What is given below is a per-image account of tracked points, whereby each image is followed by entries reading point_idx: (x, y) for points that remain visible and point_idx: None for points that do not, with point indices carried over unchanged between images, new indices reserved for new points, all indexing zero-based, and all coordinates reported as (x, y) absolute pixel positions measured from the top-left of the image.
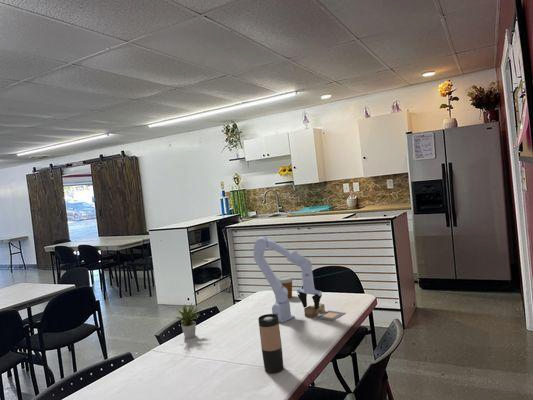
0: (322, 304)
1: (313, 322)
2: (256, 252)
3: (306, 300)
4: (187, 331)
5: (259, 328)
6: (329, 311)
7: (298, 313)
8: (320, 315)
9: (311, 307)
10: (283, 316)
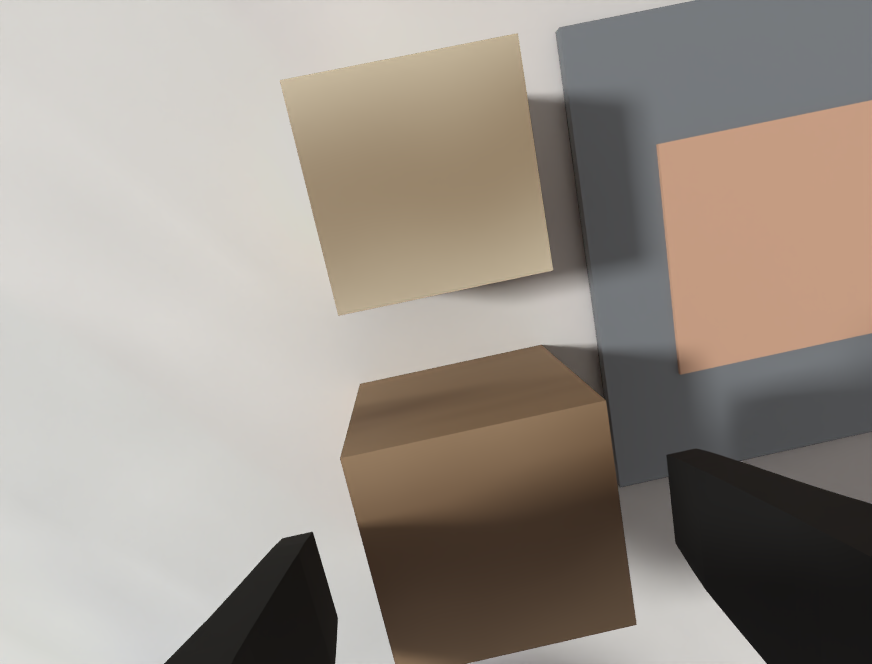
0: (512, 113)
1: (714, 614)
2: None
3: (247, 642)
4: None
5: None
6: (615, 82)
7: (149, 514)
8: (618, 364)
9: (510, 535)
10: None
